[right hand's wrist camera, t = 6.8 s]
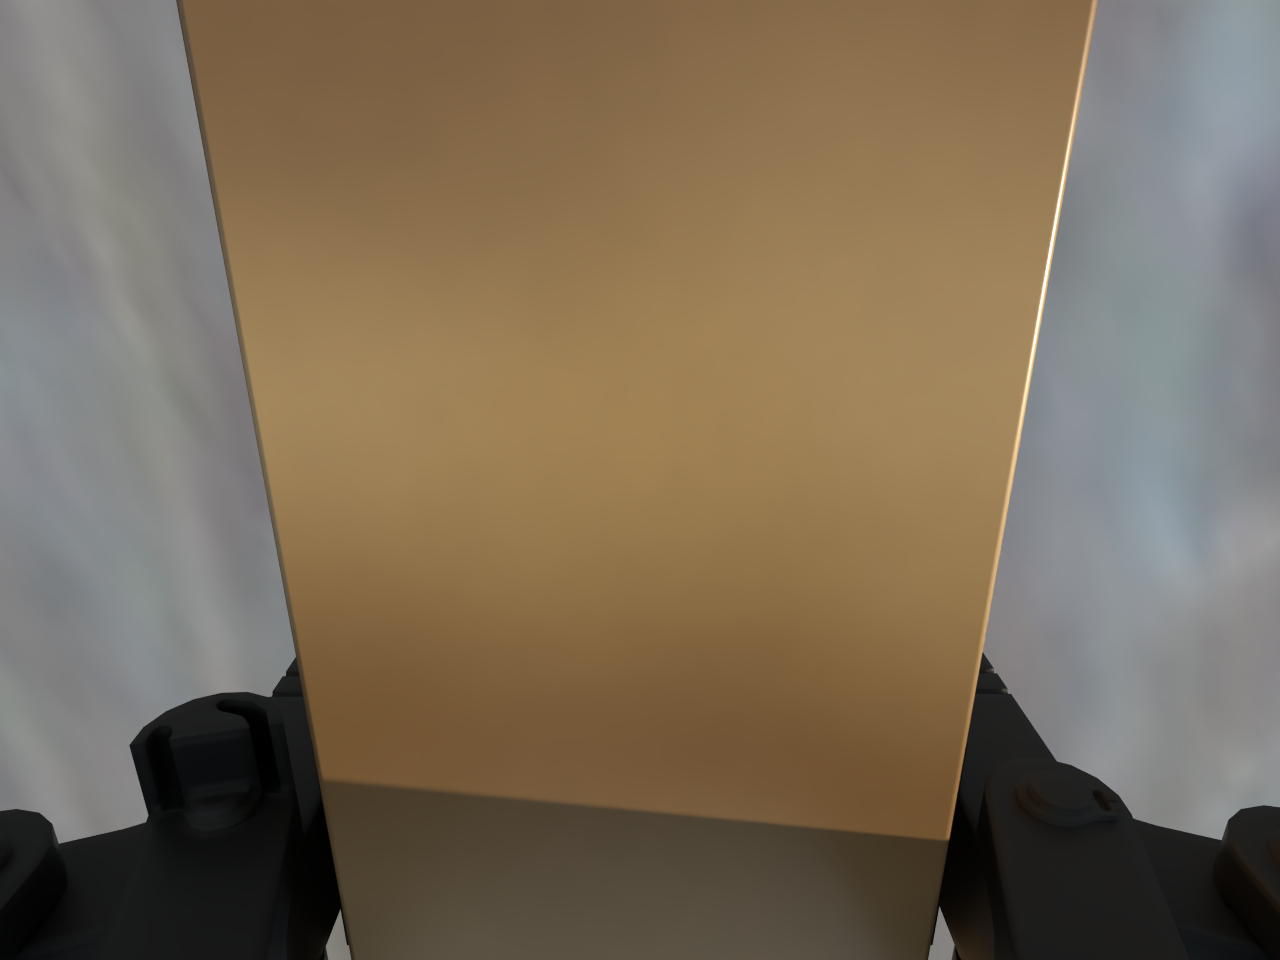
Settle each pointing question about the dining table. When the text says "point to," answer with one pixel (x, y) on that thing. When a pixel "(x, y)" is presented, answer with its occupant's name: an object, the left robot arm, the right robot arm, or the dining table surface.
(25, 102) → the dining table surface
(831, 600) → the post
